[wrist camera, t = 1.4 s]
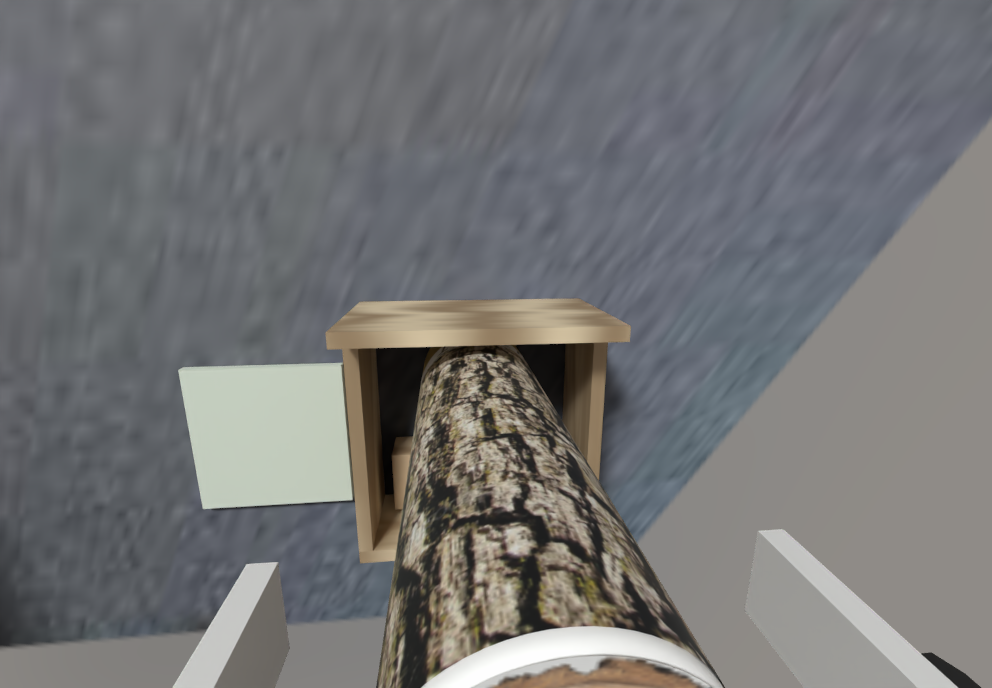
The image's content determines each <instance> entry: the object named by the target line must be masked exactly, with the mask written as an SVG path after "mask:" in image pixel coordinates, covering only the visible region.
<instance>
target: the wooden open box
mask: <svg viewBox="0 0 992 688" xmlns="http://www.w3.org/2000/svg"><path fill="white" fill-rule="evenodd" d="M630 331H631V326H630V325H628V324H626V323H624V322H622V321H620V320H618V319H617V318H615V317H613V316H611V315H609V314H607V313H605V312H603V311H601V310H600V309H598V308H596V307H594V306H592V305H590V304H588V303H586V302H584V301H583V300H581V299H516V300H446V301H377V302H359V303H358V304H357V305H356V306H355V307H354V308H353V309H351V310H350V311H349V312H348V313H347V314H346V315H345V316H344V317H343V318H341V319H340V320H339V321H338V322H337V323H336V324H335V325H334V326H332V327H331V328H330V329H329V330H328V331H327V332H326V342H327V349H342V351H343V363H344V375H345V387H346V399H347V411H348V423H349V435H350V447H351V458H352V470H353V482H354V494H355V506H356V518H357V530H358V542H359V554H360V563H370V562H383V561H395V556H396V550H397V543H398V536H399V529H400V522H401V516H402V509H397V510H395V500H394V494H389V495H385V483H384V468H383V452H382V437H381V422H380V406H379V391H378V375H377V360H376V348H402V347H442V346H482V345H522V344H562V343H566V348H565V372H564V395H563V419H562V421H563V423H564V425H565V426H566V428H567V430H568V431H569V433H570V434H571V436H572V438H573V439H574V441H575V443H576V444H577V446H578V448H579V449H580V451H581V452H582V454H583V456H584V457H585V459H586V461H587V462H588V464H589V466H590V467H591V469H592V471H593V472H594V474H595V475H596V477H597V479H598V480H599V469H600V454H601V439H602V424H603V408H604V393H605V378H606V363H607V347H608V342H630Z"/></svg>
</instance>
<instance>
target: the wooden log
mask: <svg viewBox="0 0 992 688" xmlns="http://www.w3.org/2000/svg"><path fill="white" fill-rule="evenodd" d="M376 688H725V687H724V685H723V684H722V682H721V680H720V679H719V677H718V675H717V674H716V672H715V670H714V669H713V667H712V666H711V664H710V662H709V661H708V659H707V657H706V656H705V654H704V653H703V651H702V649H701V648H700V646H699V644H698V643H697V641H696V639H695V638H694V636H693V634H692V633H691V631H690V629H689V628H688V626H687V625H686V623H685V622H684V620H683V618H682V616H681V615H680V613H679V611H678V610H677V608H676V607H675V605H674V603H673V602H672V600H671V598H670V597H669V595H668V593H667V592H666V590H665V589H664V587H663V585H662V584H661V582H660V580H659V579H658V577H657V575H656V574H655V572H654V571H653V569H652V568H651V566H650V564H649V562H648V561H647V559H646V557H645V556H644V554H643V552H642V551H641V549H640V548H639V546H638V544H637V543H636V541H635V539H634V538H633V536H632V534H631V533H630V531H629V530H628V528H627V526H626V525H625V523H624V521H623V520H622V518H621V516H620V515H619V513H618V511H617V510H616V508H615V507H614V505H613V503H612V502H611V500H610V498H609V497H608V495H607V493H606V492H605V490H604V489H603V487H602V485H601V484H600V482H599V480H598V479H597V477H596V475H595V474H594V472H593V471H592V469H591V467H590V466H589V464H588V462H587V461H586V459H585V457H584V456H583V454H582V452H581V451H580V449H579V448H578V446H577V444H576V443H575V441H574V439H573V438H572V436H571V434H570V433H569V431H568V430H567V428H566V426H565V425H564V423H563V421H562V420H561V418H560V416H559V415H558V413H557V412H556V410H555V408H554V407H553V405H552V403H551V402H550V400H549V398H548V397H547V395H546V393H545V392H544V390H543V389H542V387H541V385H540V384H539V382H538V380H537V379H536V377H535V375H534V374H533V372H532V371H531V369H530V367H529V366H528V365H527V362H526V361H525V359H524V358H523V356H522V355H521V353H520V352H519V350H518V348H517V347H516V345H482V346H442V347H431V348H430V349H429V351H428V353H427V356H426V358H425V362H424V368H423V375H422V380H421V386H420V393H419V400H418V406H417V413H416V420H415V427H414V434H413V440H412V447H411V454H410V461H409V468H408V475H407V481H406V488H405V495H404V502H403V509H402V516H401V522H400V529H399V536H398V543H397V550H396V556H395V563H394V570H393V577H392V584H391V591H390V597H389V604H388V611H387V618H386V625H385V631H384V638H383V645H382V652H381V659H380V666H379V673H378V679H377V686H376Z"/></svg>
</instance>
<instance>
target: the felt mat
mask: <svg viewBox="0 0 992 688" xmlns="http://www.w3.org/2000/svg"><path fill="white" fill-rule="evenodd" d="M178 371H179V377H180V383H181V388H182V394H183V399H184V405H185V411H186V416H187V422H188V427H189V433H190V439H191V444H192V450H193V456H194V461H195V467H196V472H197V478H198V484H199V489H200V495H201V500H202V506H203V509H211V508H228V507H245V506H262V505H279V504H295V503H312V502H329V501H346V500H353V497H354V488H353V476H352V464H351V452H350V440H349V428H348V416H347V404H346V392H345V380H344V368H343V363H319V364H283V365H248V366H212V367H183V368H181V369H179V370H178Z"/></svg>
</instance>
